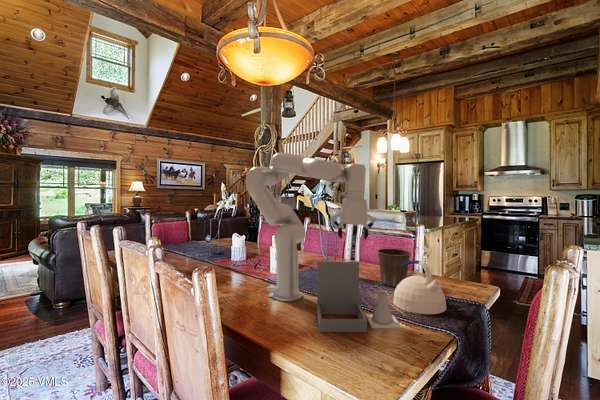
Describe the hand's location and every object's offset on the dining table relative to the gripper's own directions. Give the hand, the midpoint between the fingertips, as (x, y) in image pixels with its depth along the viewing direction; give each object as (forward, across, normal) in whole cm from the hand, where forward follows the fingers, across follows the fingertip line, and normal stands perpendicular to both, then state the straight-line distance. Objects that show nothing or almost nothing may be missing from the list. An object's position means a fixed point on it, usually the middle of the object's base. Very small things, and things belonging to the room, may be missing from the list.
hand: (352, 238), depth 123 cm
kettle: (+27, +28, +3) cm, 39 cm away
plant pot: (+27, +26, +32) cm, 49 cm away
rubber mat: (+27, +10, -15) cm, 32 cm away
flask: (+26, +10, -15) cm, 32 cm away
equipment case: (+27, -5, -15) cm, 32 cm away
